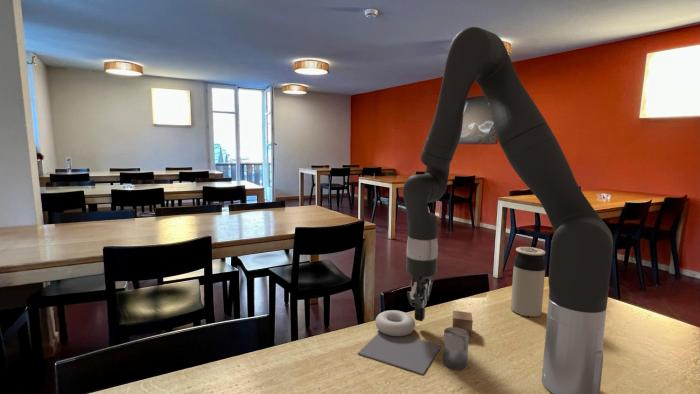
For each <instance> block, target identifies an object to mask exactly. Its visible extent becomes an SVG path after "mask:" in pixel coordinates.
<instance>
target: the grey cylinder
mask: <svg viewBox="0 0 700 394" xmlns="http://www.w3.org/2000/svg"><path fill="white" fill-rule="evenodd" d="M443 333H444V334H443V352H442V353H443V354H442V364H443V366H444V367H446V368H447V369H449V370H452V371H458V372H459V371H465V370H466V369H467V368H468V358H469V357H468V356H469V355H468V354H469V339H470V337H469V333H468V332H467V331H466V330H464V329H461V328H457V327H452V326H450V327H446V328H445V329H444V332H443Z"/></svg>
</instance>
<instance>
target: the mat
mask: <svg viewBox="0 0 700 394" xmlns="http://www.w3.org/2000/svg"><path fill="white" fill-rule="evenodd" d="M441 347H442V345H441V344H439V343H435V342H431V341H429V340H428V341H427V340H425V339H421V338H417V337H413V336H410V335H405V336H399V337H398V336H390V335H386V334H384V333H382V332H381V331H379V332H377V334H376V335H375V336H373V337H372V339H371V340H369V342H367V343H366V344H365V345H364V346H363V347H362V348H361V349H360V351H358V353H357V355H359V356H363V357H366V358H369V359H372V360H375V361H379V362H380V363H384V364H387V365H389V366H394V367H397V368H400V369H403V370H406V371H409V372H411V373H412V372H413V373H416V374H419V375H420V376H424V375H425V373H426V372H427V370H428V368H429V367H430V365H431V363H432V361H433V360H434V359H435V358H436V356H437V353H438V352H439V351H440V349H441Z"/></svg>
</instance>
